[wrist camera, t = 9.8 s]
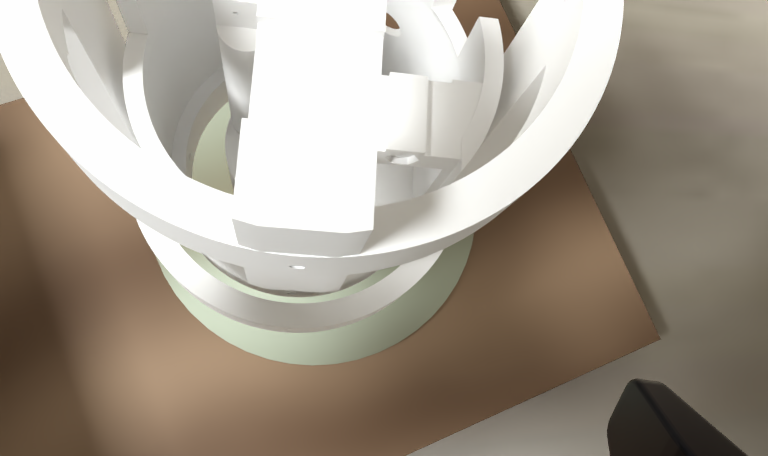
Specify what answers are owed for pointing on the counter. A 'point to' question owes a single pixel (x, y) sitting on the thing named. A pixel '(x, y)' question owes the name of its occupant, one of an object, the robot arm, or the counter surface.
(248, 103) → the white tall rounded piece
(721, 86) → the counter surface
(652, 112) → the counter surface
